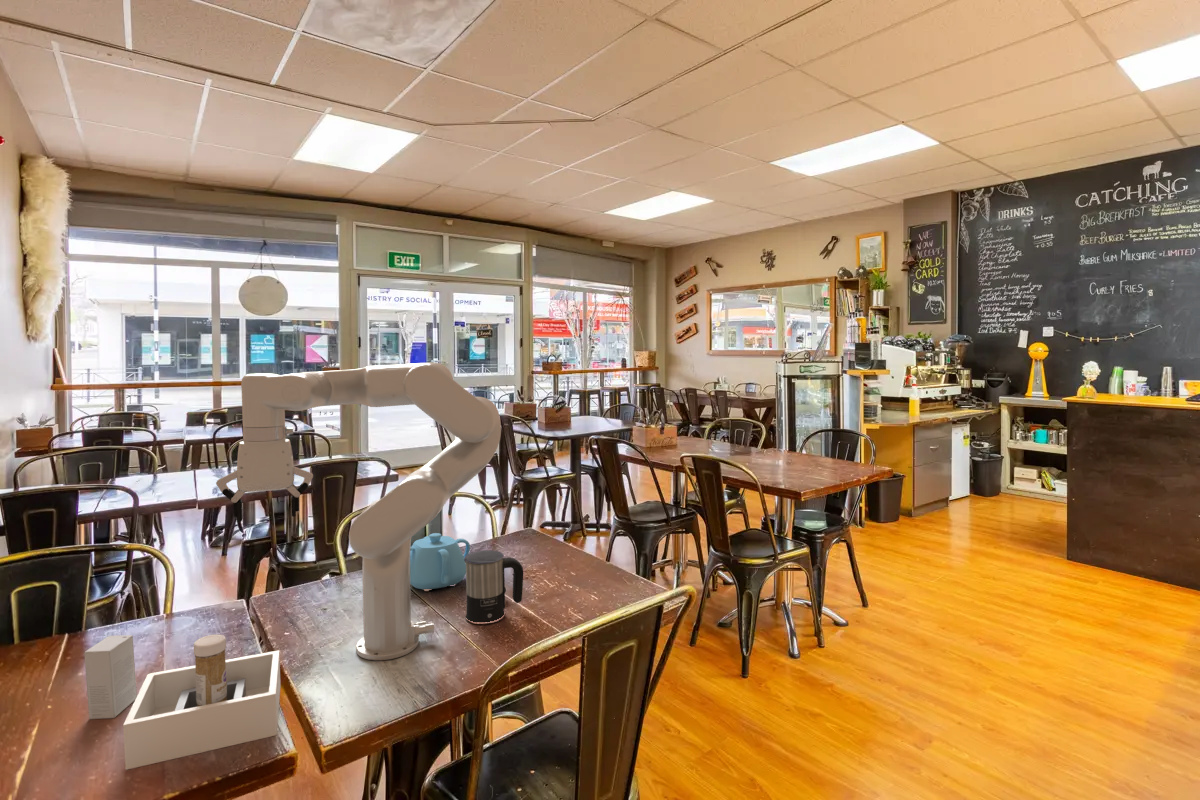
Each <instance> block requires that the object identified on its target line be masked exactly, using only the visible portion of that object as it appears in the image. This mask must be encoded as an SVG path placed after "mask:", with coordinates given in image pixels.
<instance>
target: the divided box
mask: <svg viewBox="0 0 1200 800" xmlns="http://www.w3.org/2000/svg"><path fill="white" fill-rule="evenodd" d="M280 657H281V656H280V650H274V651H268V652H263V653H258V654H251V655H246V656H245V655H244V656H240V657H235V658H234V657H233V658H229V659H225V665H226V682H227V701H223V702H218V703H213V704H208V705H203V706H198V707H197V702H196V678H195V671H196V664H195V665H190V666H185V667H180V668H174V669H168V670H162V671H156V672H151V673H147V675H146V677H145V678H144V679H145V680H144V681H143V683H142V685H141V687H140V689H139V691H138V693H137V697H136V699H135V700H134V701H133V704H132V706H131V707H130V709H129V712H128V714H127V716H126V718H125V720H124V722H123V725H122V727H123V730H122V731H123V746H124V747H123V748H124V763H125V770H126V771H127V770H132V769H136V768H139V767H145V766H148V765H152V764H156V763H161V762H166V761H170V760H174V759H175V760H176V759H178V758H184V757H187V756H188V757H189V756H193V755H197V754H200V753H206V752H210V751H214V750H218V749H222V748H227V747H230V746H235V745H240V744H243V743H248V742H252V741H257V740H258V741H259V740H261V739H265V738H269V737H274V736H278V729H279V728H278V726H279V711H280V700H281V699H280V698H281V663H280Z"/></svg>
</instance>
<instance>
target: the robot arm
mask: <svg viewBox="0 0 1200 800" xmlns="http://www.w3.org/2000/svg"><path fill="white" fill-rule="evenodd" d="M453 378H454V376H453V374H452V372H451V371H450V369H449V368H448V367H447V366H446V365H444V364H442V363H440V362H439V363H438V362H433V361H432V362H416V363H400V364H399V363H398V364H381V365H379V364H378V365H367V366H364V367H361V368H355V369H342V370H341V369H340V370H324V371H323V370H321V371H303V372H296V373H288V374H281V375H280V374H277V373H248V374H245V375H244V376H243V377H242V378H241V388H240V389H241V410H242V411H241V412H242V416H241V417H242V432H243V433H242V437H243V440H242V441H239V444H238V449H237V450H238V451H237V459H236V461H237V462H236V470H235V471H233V472H231V473H228V474H227V475H225V476H223V477H221V478H218V479H217V481H216V482H215V485H216V486H217V487H218V489H219V491H220V492H221V493H222V495H223V496H225V497H226V498H227V499H229V500H230V501H231V503H233V505H232V506H233V518H237V523H241V522H243V520H244V512H243V511H244V507H243V500H242V497H243V496H244V495H245V494H246V493H254V492H255V493H257V492H266V491H267V492H269V491H281V490H287V491H288V492H289V493H290V494H291V496H290V498H291V499H290V502H291V503H290V505H291V506H290V507H291V508H290V509H291V517H295V518H296V516H297V515H296V514H297V513H296V512H300V499H299V498H300V496H301V495H302V494H303V493H304V492H305V491H306V490H307V489H308V487H309V485H310V483H311V482H312V479H313V478H314V474H313V473H312V472H311V471H310V472H309V471H307V470H304V469H301V468H300V467H296V466H295V465H294V455H293V449H292V445H291V440H290V439H288V438H287V436H290V435H294V427H289V426H288V427H287V425H286V412H285V411H290V412H291V411H293V412H301V411H306V410H311V409H313V408H317V407H327V406H328V407H329V406H340V405H363V406H366V407H370V408H382V407H395V406H397V407H398V406H412V405H413V406H416V407H417V408H419V409H420V410H421V411H422V412H423V413H424V414H426V415H427V416H429V418H431V419H432V420H433V421H435V422H436V423H438V424H439V425H440V426H442V427H443V428H444V429H445V430H447V431H448V432H449V433H450V434H452V435H454V437H455V440H454V441H452V442H451V443H450V444H449V445H447V446H446V447H445V448H444V449H443V450H442V451H440V453H438V454H437V455H436V456H434V457H433V458H432V459H431V460H430V461H428V462H427V463H425V464H424V465H423V466H421V467H420V468H418V469H416V470H414V471H413V472H411V473H410V474H408V475H407V477H405V478H404V479H403V480H402V481H401V482H400V483H399V484H398V485H396V486H395V487H394V488H393V489H391V490H390V491H389V492H388V493H386V494H385V495H384V496H383V497H381V498H379V499H377V500H375V501H373V502H371V504H369V505H368V506H367V507H366V508H365V509H364V510H363V511H362V512H361V513H360V514H359V515H357V516H356V518H355V519H354V521H353V522H352V523H351V525H350V528H349V532H348V541H349V545H350V548H351V549H352V551H353V552H354V553H355V554H356V555H357V556H359V557H361V558H362V563H361V564H362V567H361V569H362V580H361V581H362V616H363V617H362V618H363V620H362V621H363V637H361V638H360V639H359V640H358V641H357V643H356V644H355V652H356V654H357V655H358V656H359V657H360V658H363V659H364V660H369V661H388V660H393V659H397V658H400V657H403V656H406V655H408V654H410V653H412V652H413V651H414V650H415V649H416V648H417V647H418V646H419V643H420V635H424V634H433V633H435V626H434V623H433V622H432V623H427V622H426V620H423V621H418V622H415V621H413V620H412V610H411V609H412V604H411V603H412V602H411V601H412V598H411V583H410V548H411V547H412V537H413V536H415V535H416V534H418V532H420V531H421V530H422V529H423V528H425V527H426V526H428V525H429V524H430V523H431V522H432V521H433V520H434V519H435V518H437V516H438V515H439V513H440V512H441V511H442V510H443V508H444V506H445V505H446V503H447V502H448V500H449V499H450V498H451V497H452V496H454V495H455V494H456V493H457V492H459V490H461V489H462V488H463V487H465V486H466V485H467V484H468V483H470V481H471V480H472V479H474V477H476V476H477V475H479V473H481V472H482V471H483V470H484V468H485V467H487V465H488V464H489V463H490V462H491V460H492V459H493V457H494V456H495V454H496V452H497V449H498V447H499V444H500V441H501V436H502V435H501V434H502V425H501V424H502V423H501V417H500V413H499V410H498V408H497V406H496V405H495V403H494V402H493V401H492V400H490V399H489V398H486V397H484V396H475V395H473V394H472V393H471V392H469V391H468V390H467V389H465V388H464V387H463V386H462V385H460V384H459V383H458V382H457V381H455V380H454V379H453ZM295 475H296V476H297V477H298V476H299V477H300V478H303V481H302V483H300V484H299V486H298V487H297V486H296V485H295V484H294V481H295ZM235 479H236V487H237V490H236V491H233V490H232V489H230V488H229V486H228V483H230V482H231V481H234V480H235Z"/></svg>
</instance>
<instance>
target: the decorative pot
mask: <svg viewBox="0 0 1200 800" xmlns="http://www.w3.org/2000/svg"><path fill="white" fill-rule="evenodd" d="M460 543H462V544H465V549H464V554H463V551H462V549H461V548H460V546H459V544H460ZM470 552H471V545H470V542H469V541H468V540H467V539H464V538H457V539H454V538H453V537H452V536H448V535H442V534H441V533H440V532H439V533H438V532H434V533H433V532H432V533H431V534H429V535H427V536H424V537H423V538H420V539H417V540H415V541H414V542H413V543H412V544H411V548H410V586H412V587H414V588H415V589H419V590H423V589H434V590H435V589H441V588H446V587H447V586H450V585H454V584H456V585H457V584H459V583H461V582H462V580H463V579H464V578H465V577H466V563H465V561H464V558H465V556H466V555H468V554H470Z"/></svg>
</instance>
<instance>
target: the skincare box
mask: <svg viewBox="0 0 1200 800" xmlns="http://www.w3.org/2000/svg"><path fill="white" fill-rule="evenodd" d="M134 650H135V649H134V637H133V635H131V634H130V635H124V634H123V635H108V636H106V637H105V638H103V639H102V640H100V641H99V642H98V643H96V644H94V645H93V646H92V647H90V648H88V649H87V650H85V651H84V653H83V654H84V665H85V666H84V667H85V680H86V682H85V683H86V695H87V707H88V708H87V709H88V718H89V720H96V719H97V720H98V719H99V720H101V719H115V718H116V717H117V716H118V715H119V714H120V713H121V712H123V711H124V710H125V709H126V708H127V707H128V706H130V705H131V704H132V703H134V702H135V699H136V697H137V695H138V693H137V679H136V666H135V665H136V664H135V653H134V652H135V651H134Z"/></svg>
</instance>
